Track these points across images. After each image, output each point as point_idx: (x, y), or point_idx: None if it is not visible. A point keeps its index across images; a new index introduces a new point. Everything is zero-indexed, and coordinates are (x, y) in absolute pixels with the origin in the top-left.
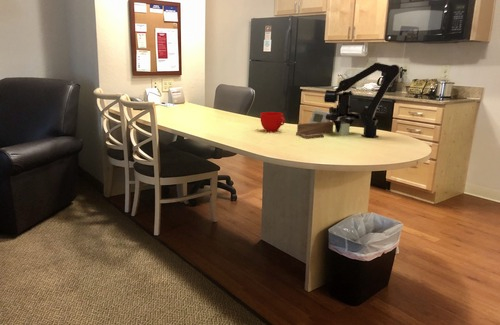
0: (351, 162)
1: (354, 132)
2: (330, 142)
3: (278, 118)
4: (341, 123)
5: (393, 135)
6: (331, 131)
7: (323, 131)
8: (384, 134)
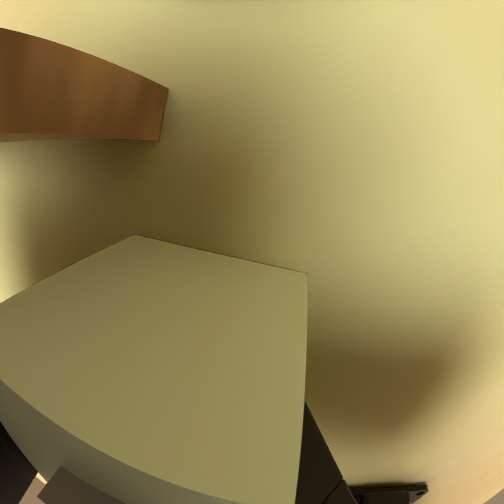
0: (41, 479)
1: (486, 347)
2: None
3: None
4: (76, 488)
5: (482, 494)
6: (115, 138)
7: (8, 140)
8: (494, 474)
